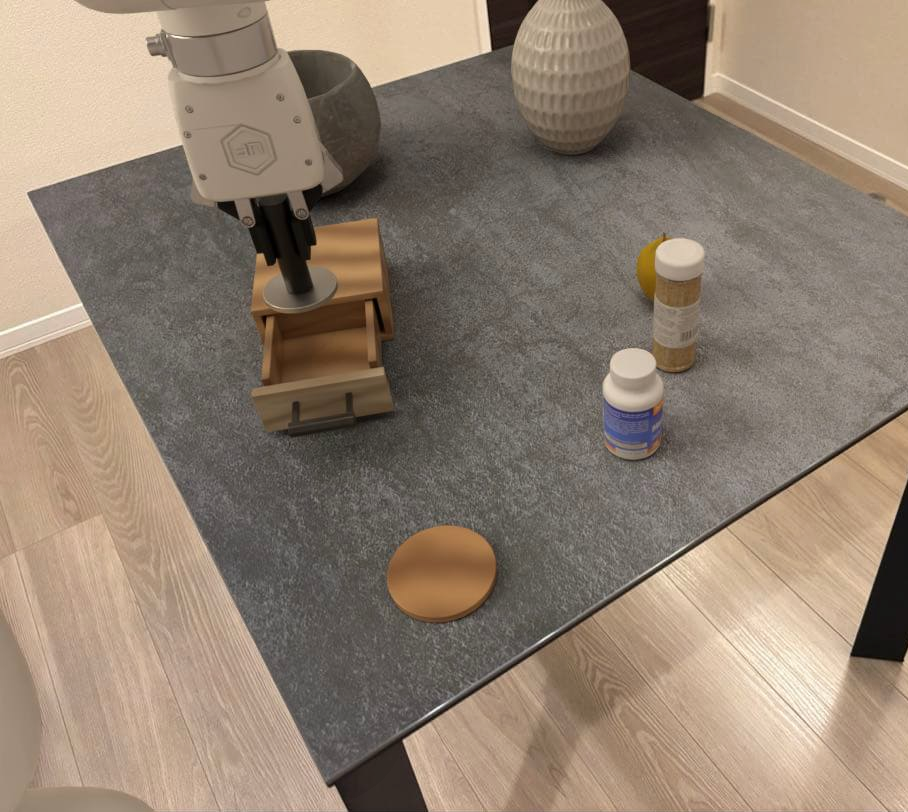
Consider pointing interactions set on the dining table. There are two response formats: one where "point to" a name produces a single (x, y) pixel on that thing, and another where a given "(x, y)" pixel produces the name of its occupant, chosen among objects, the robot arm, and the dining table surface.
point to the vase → (570, 73)
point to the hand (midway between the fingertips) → (289, 253)
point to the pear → (649, 267)
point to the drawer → (322, 369)
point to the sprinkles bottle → (677, 303)
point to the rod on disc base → (292, 265)
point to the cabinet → (340, 271)
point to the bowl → (340, 109)
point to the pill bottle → (633, 405)
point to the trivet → (442, 573)
